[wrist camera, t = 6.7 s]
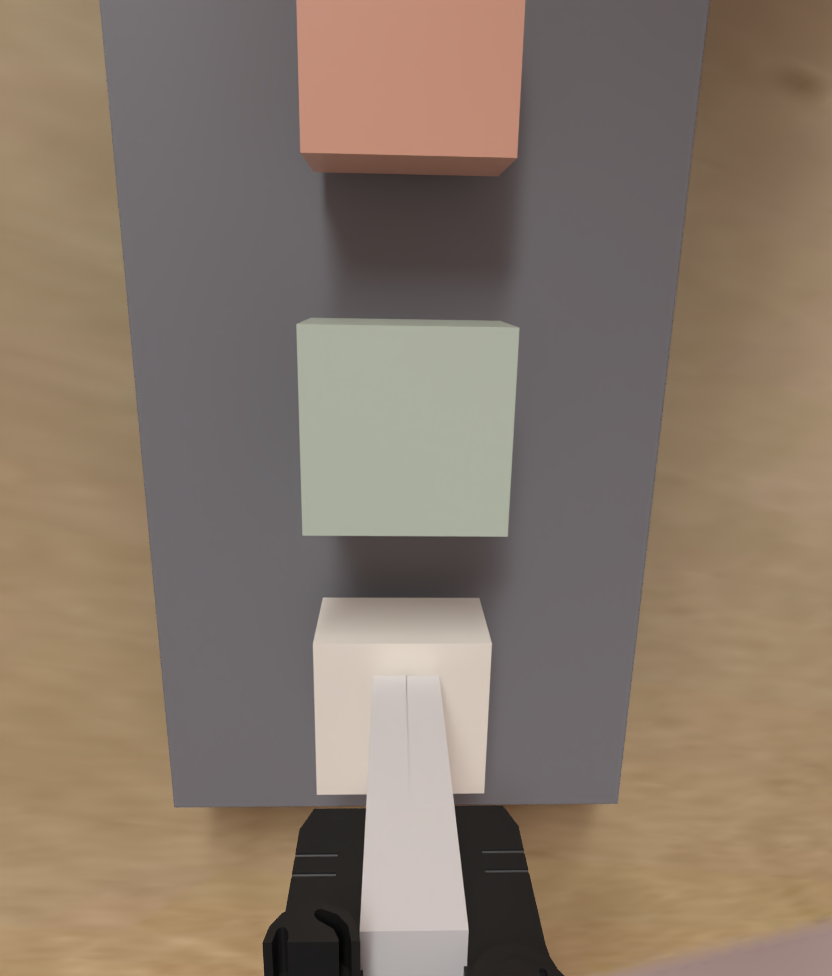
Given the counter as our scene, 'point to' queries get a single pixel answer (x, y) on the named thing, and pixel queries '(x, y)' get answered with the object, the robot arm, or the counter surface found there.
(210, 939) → the counter surface
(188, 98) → the console
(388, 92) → the key terracotta
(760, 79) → the counter surface
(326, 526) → the key sage
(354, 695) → the key ivory
